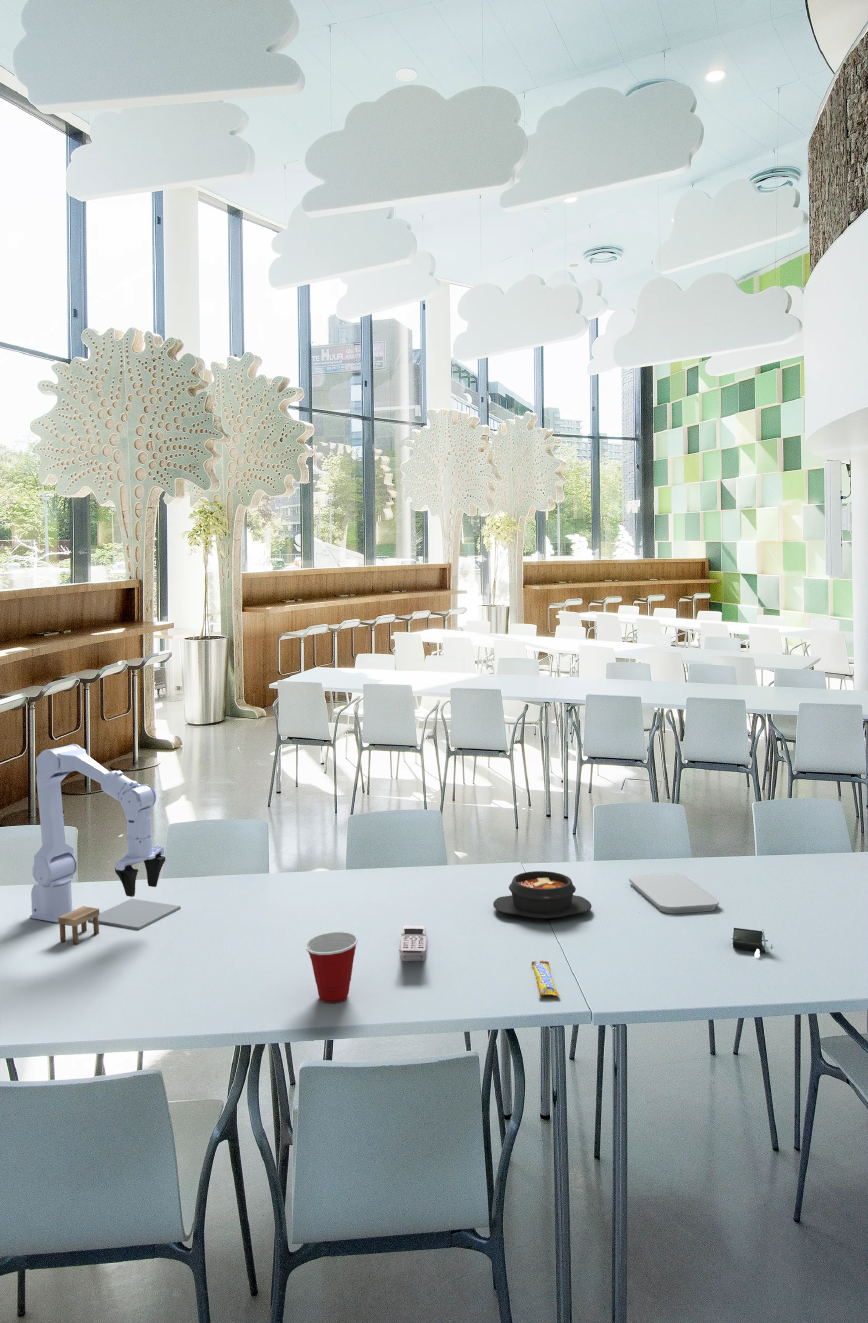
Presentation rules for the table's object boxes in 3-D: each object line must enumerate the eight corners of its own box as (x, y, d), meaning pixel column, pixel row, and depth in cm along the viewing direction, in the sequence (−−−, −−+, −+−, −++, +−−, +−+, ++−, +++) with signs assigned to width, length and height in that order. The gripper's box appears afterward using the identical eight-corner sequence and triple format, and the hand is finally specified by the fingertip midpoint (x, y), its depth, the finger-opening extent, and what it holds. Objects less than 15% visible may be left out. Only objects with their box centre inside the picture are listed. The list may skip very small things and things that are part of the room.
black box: (710, 956, 207) (710, 933, 207) (715, 932, 221) (716, 910, 221) (781, 966, 202) (781, 941, 201) (782, 941, 216) (782, 918, 215)
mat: (87, 921, 231) (87, 918, 231) (131, 900, 246) (131, 898, 246) (138, 930, 225) (138, 927, 225) (180, 908, 240) (180, 906, 240)
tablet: (680, 880, 260) (680, 872, 260) (723, 912, 235) (723, 903, 235) (625, 883, 258) (625, 875, 258) (662, 916, 232) (662, 907, 232)
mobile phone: (398, 950, 197) (401, 908, 222) (398, 977, 198) (401, 932, 222) (426, 950, 197) (427, 909, 222) (426, 977, 198) (426, 932, 222)
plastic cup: (307, 987, 192) (305, 931, 191) (359, 984, 193) (358, 929, 192) (304, 1011, 182) (302, 951, 181) (359, 1008, 183) (358, 949, 182)
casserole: (496, 926, 226) (496, 892, 225) (490, 900, 244) (490, 869, 244) (597, 924, 226) (598, 891, 226) (584, 898, 245) (584, 867, 244)
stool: (59, 942, 218) (58, 917, 217) (84, 930, 225) (83, 906, 225) (75, 945, 216) (74, 920, 216) (100, 933, 223) (99, 908, 223)
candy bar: (530, 967, 202) (530, 959, 202) (549, 967, 202) (549, 959, 202) (538, 1002, 186) (538, 993, 186) (559, 1001, 186) (559, 992, 185)
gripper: (130, 845, 214) (132, 902, 215) (173, 830, 227) (174, 884, 228) (107, 842, 217) (109, 898, 218) (150, 827, 230) (152, 880, 231)
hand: (141, 891), depth 223 cm, fingers open, 7 cm apart
